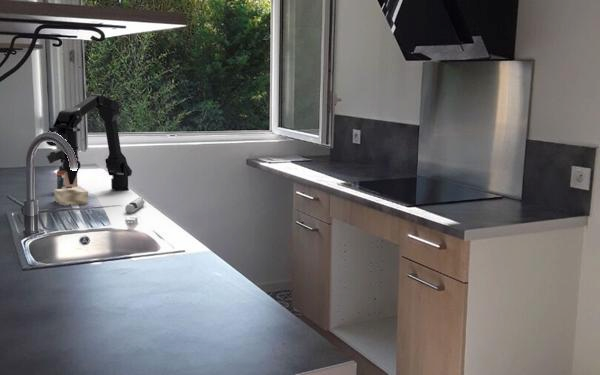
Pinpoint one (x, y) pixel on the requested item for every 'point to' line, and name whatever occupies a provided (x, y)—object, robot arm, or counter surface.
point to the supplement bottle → (61, 178)
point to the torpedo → (135, 205)
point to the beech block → (71, 196)
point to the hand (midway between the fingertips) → (70, 183)
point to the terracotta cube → (66, 181)
